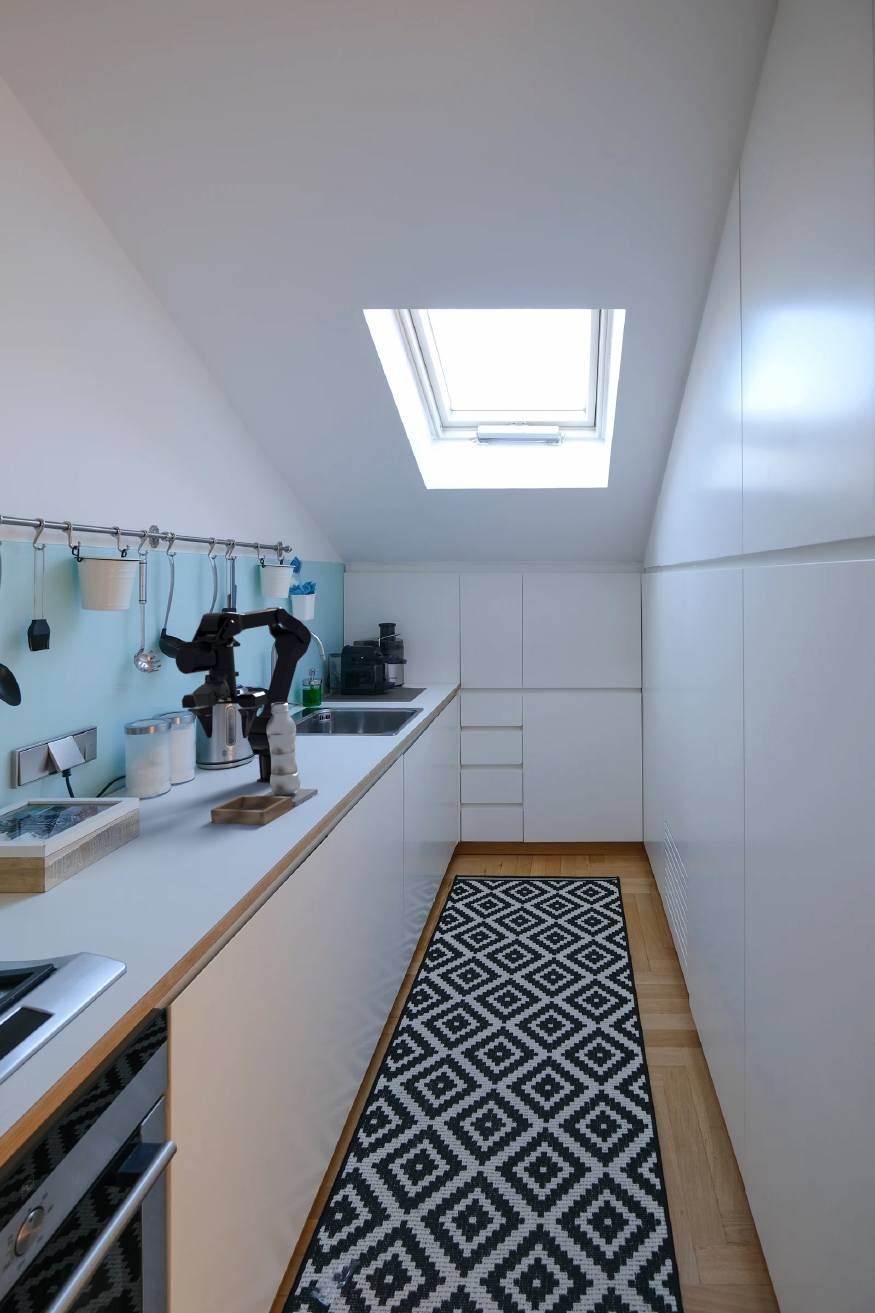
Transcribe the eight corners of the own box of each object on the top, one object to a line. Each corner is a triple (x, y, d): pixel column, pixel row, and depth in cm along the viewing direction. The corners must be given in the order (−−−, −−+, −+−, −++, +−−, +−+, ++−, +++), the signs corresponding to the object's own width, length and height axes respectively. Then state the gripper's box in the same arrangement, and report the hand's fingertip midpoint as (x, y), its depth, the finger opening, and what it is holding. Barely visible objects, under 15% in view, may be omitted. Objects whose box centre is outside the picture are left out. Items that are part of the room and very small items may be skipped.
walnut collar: (211, 822, 149) (210, 810, 149) (242, 806, 160) (241, 795, 160) (265, 825, 146) (264, 812, 145) (292, 808, 156) (291, 796, 156)
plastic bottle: (301, 789, 168) (294, 700, 166) (301, 797, 161) (294, 704, 159) (271, 792, 166) (264, 702, 165) (270, 800, 160) (263, 706, 158)
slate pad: (254, 805, 161) (253, 800, 160) (277, 792, 170) (277, 788, 170) (296, 806, 157) (295, 801, 157) (317, 793, 167) (317, 789, 167)
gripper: (163, 673, 163) (169, 745, 164) (238, 672, 157) (243, 745, 159) (194, 668, 174) (199, 735, 175) (265, 666, 168) (271, 735, 169)
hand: (227, 738), depth 169 cm, fingers open, 9 cm apart
